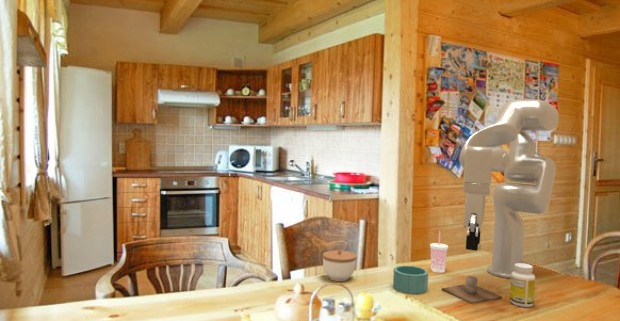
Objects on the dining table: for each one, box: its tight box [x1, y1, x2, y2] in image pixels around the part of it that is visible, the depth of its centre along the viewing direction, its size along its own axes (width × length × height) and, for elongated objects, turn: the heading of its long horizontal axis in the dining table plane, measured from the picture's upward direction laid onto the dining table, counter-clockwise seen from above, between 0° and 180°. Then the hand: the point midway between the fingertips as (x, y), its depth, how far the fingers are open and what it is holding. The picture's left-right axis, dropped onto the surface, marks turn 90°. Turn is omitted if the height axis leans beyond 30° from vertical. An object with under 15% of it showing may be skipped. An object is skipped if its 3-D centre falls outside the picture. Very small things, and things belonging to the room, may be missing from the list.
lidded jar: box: [322, 248, 357, 282], centre depth 144 cm, size 11×11×9 cm
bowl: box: [392, 264, 429, 295], centre depth 136 cm, size 10×10×6 cm
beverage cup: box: [429, 230, 449, 274], centre depth 155 cm, size 6×6×14 cm
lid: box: [441, 275, 503, 305], centre depth 133 cm, size 12×12×6 cm
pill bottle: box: [509, 263, 536, 308], centre depth 126 cm, size 6×6×11 cm
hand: (472, 246), depth 132 cm, fingers open, 9 cm apart
